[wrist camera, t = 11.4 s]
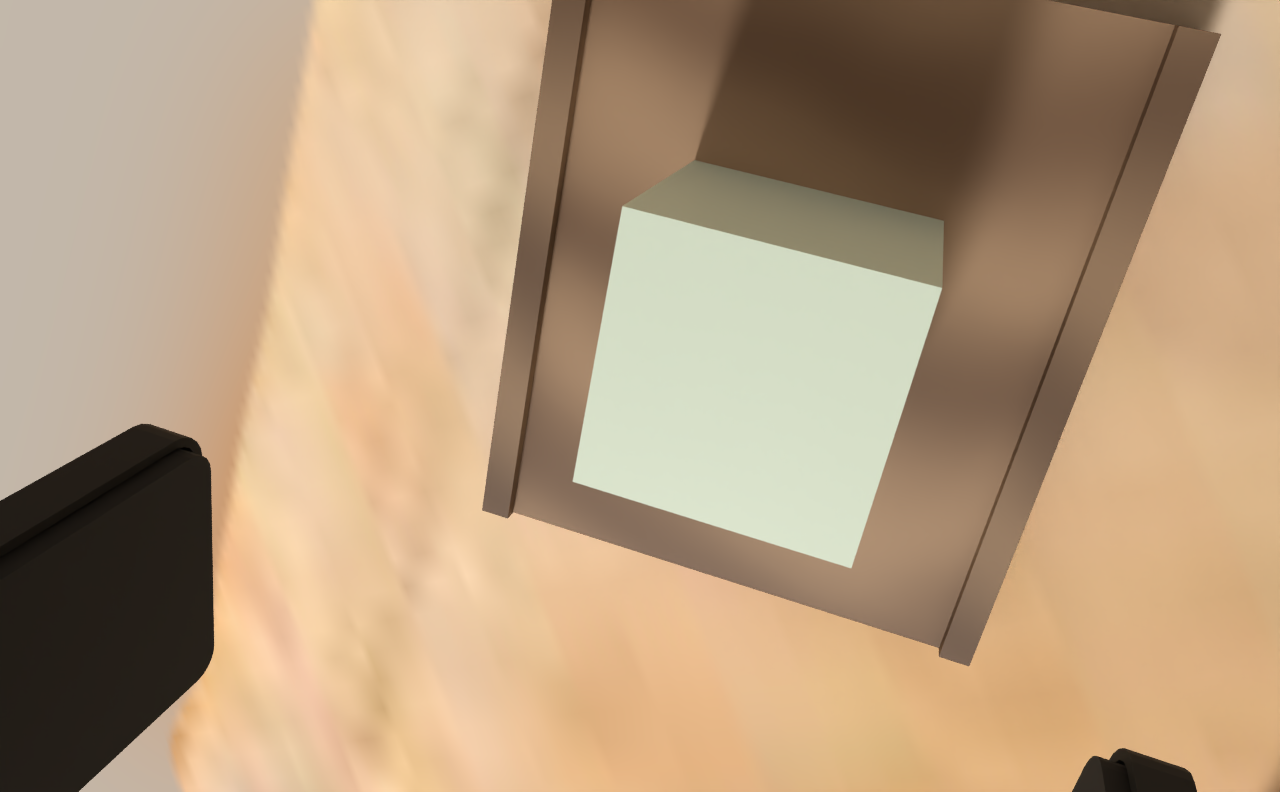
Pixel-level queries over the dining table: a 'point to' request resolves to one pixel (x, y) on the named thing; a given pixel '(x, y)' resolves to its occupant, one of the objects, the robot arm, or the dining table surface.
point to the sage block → (758, 355)
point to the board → (876, 173)
